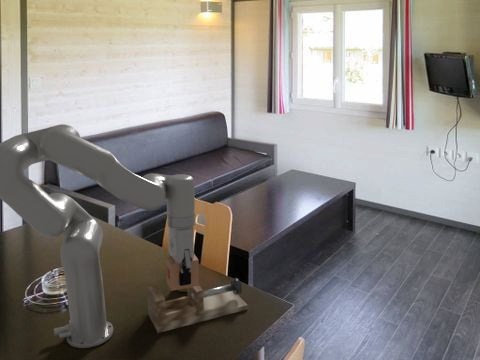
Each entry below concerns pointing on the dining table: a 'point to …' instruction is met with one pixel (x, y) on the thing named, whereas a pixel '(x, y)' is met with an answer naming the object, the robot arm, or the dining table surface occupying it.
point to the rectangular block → (174, 271)
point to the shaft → (223, 289)
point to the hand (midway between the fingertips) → (182, 279)
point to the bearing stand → (190, 308)
